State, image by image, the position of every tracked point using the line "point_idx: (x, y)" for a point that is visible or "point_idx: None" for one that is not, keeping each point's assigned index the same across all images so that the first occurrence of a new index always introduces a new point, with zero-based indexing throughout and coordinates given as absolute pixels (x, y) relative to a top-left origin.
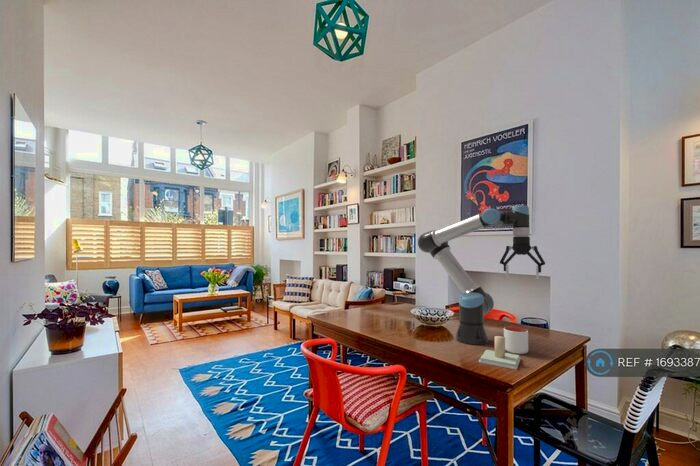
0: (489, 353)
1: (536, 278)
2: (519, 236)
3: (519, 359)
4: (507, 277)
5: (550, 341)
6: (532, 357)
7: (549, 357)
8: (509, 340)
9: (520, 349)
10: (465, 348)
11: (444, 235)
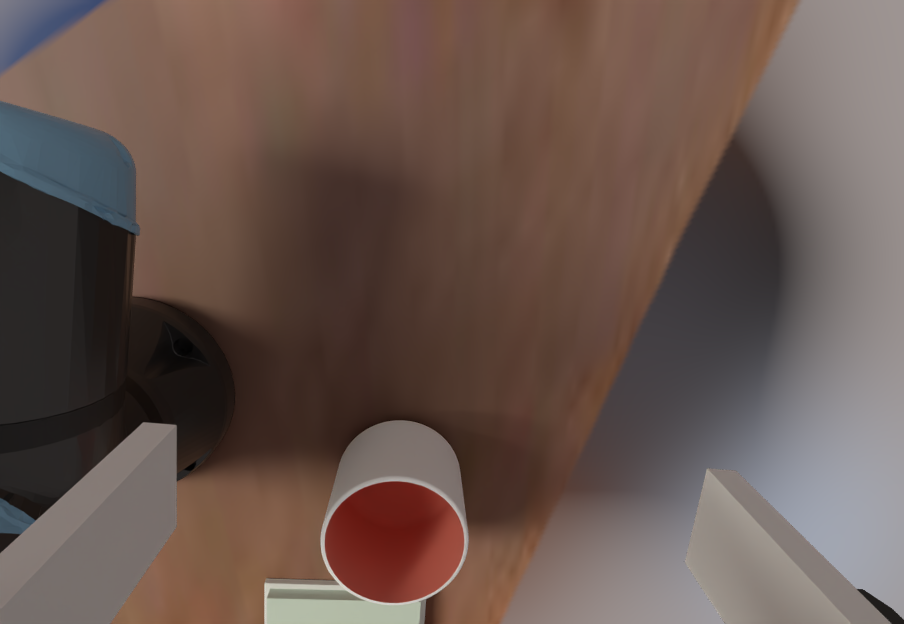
0: None
1: (693, 574)
2: None
3: (423, 610)
4: (168, 532)
5: (589, 142)
6: (477, 525)
7: (552, 484)
8: (367, 559)
9: (424, 533)
10: (156, 556)
11: None
